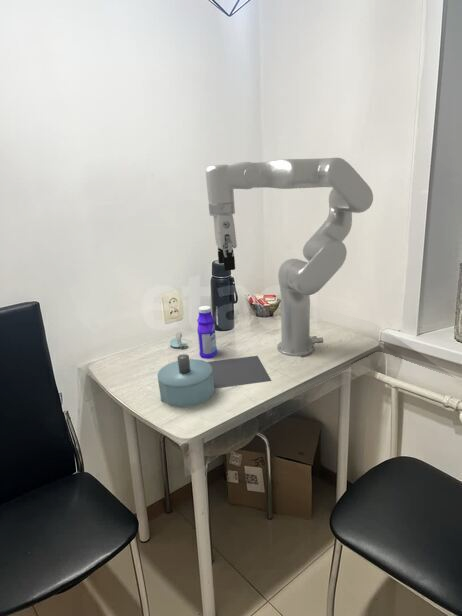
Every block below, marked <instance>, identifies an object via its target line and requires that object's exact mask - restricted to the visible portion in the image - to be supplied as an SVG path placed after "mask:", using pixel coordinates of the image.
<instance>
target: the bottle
mask: <svg viewBox="0 0 462 616" xmlns="http://www.w3.org/2000/svg"><path fill="white" fill-rule="evenodd" d="M214 321H215V318H214V316H213V315H212V307H211V306H209V305H203V306H202V305H201V306H199V307H198V318H197V319H196V322H197V329H196V330H197V341H198V352H199V357H200V358H203V359H211V358H213V357H215V356H216V354H217V351H218V349H217V339H216V338H217V337H216V326H215V322H214Z"/></svg>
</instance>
